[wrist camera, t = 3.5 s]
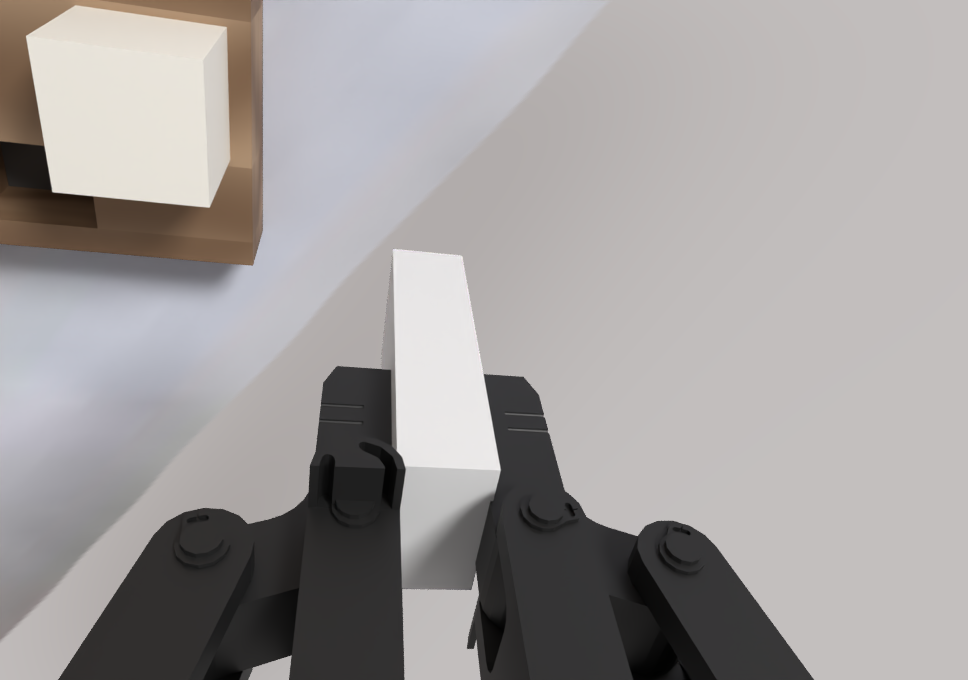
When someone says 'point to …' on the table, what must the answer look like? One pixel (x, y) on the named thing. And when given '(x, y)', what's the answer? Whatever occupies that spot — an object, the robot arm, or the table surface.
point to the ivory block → (132, 105)
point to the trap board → (119, 222)
